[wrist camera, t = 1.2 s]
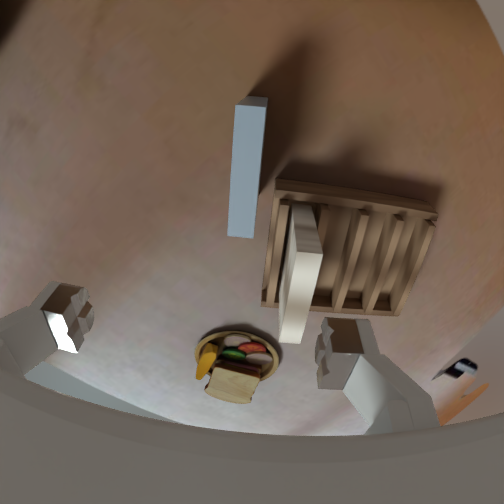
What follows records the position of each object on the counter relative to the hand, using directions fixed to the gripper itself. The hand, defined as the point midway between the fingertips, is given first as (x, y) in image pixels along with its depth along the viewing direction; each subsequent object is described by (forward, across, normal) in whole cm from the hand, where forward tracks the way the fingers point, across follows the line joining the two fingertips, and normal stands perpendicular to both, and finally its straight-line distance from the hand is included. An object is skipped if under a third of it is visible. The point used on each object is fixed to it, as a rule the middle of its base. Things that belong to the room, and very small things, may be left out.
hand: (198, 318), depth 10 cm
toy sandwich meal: (+24, -1, +30) cm, 39 cm away
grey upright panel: (+23, 0, -1) cm, 23 cm away
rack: (+23, -11, +9) cm, 28 cm away
